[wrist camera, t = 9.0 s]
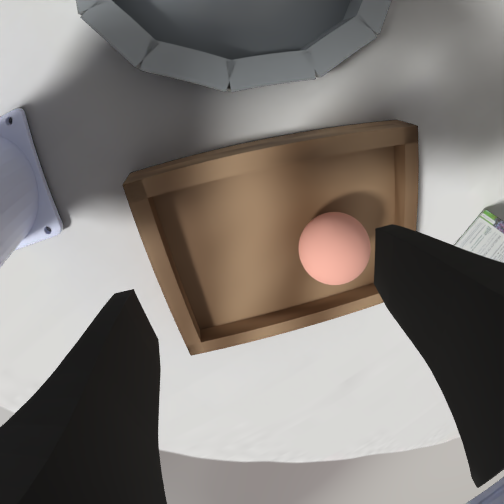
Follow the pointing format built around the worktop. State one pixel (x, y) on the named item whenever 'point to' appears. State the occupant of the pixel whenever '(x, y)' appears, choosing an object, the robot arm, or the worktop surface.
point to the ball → (334, 248)
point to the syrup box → (485, 237)
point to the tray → (268, 226)
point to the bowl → (236, 37)
